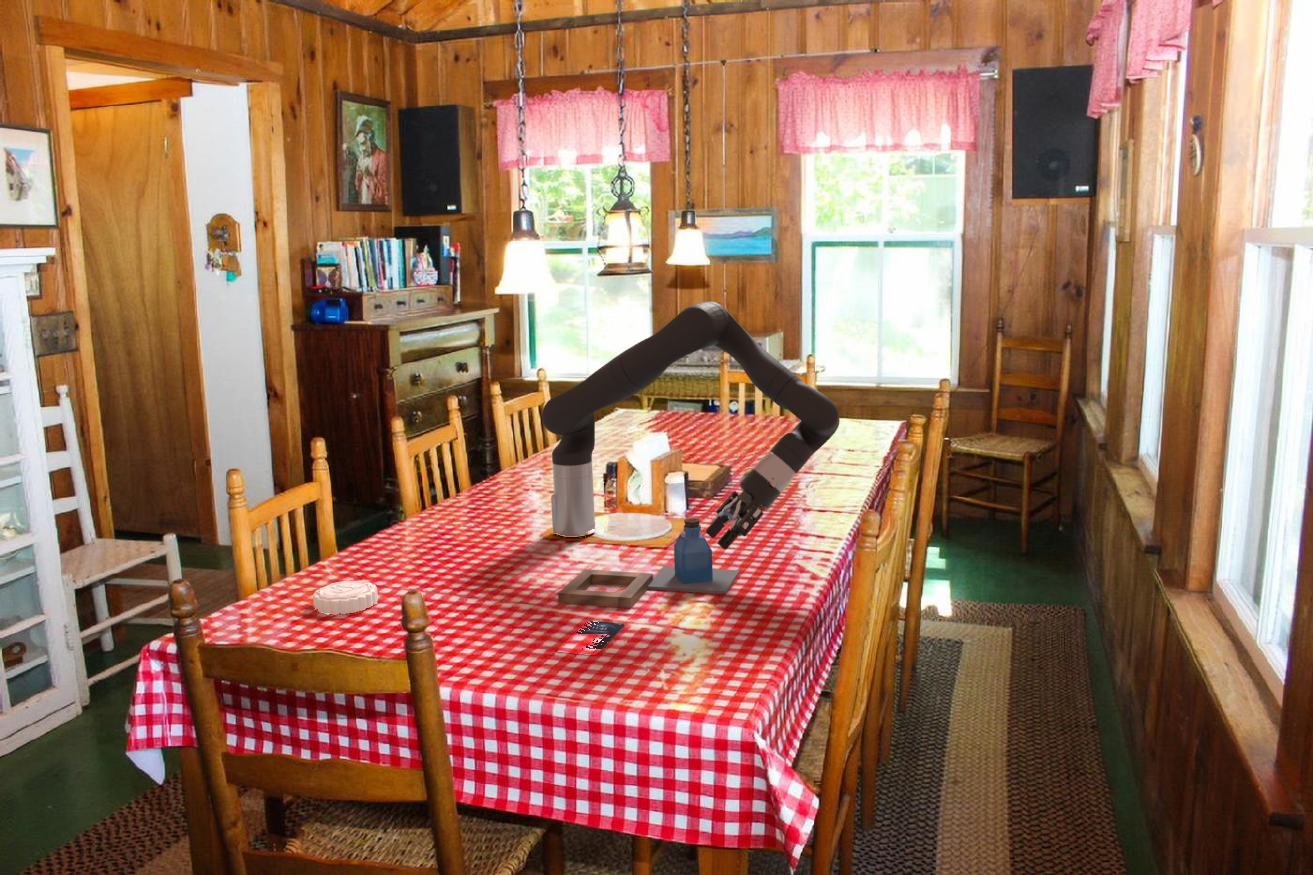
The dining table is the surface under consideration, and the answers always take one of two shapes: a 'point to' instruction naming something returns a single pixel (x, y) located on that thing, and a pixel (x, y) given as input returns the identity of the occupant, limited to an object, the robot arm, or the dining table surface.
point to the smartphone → (602, 632)
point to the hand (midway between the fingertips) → (714, 540)
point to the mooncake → (345, 597)
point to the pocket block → (579, 594)
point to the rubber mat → (672, 583)
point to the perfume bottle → (692, 555)
